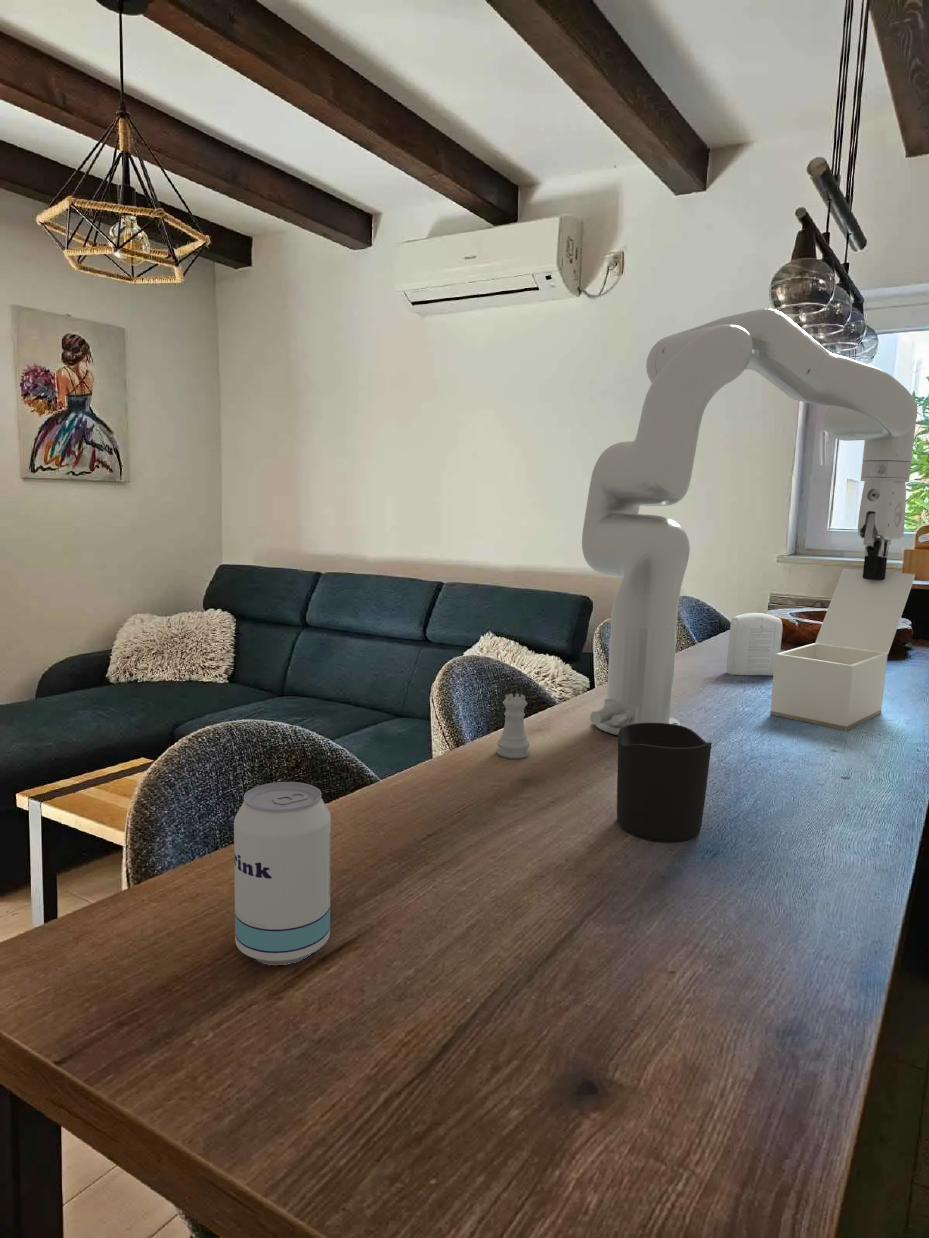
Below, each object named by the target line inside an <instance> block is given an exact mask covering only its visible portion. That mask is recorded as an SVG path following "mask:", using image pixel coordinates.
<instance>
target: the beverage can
mask: <svg viewBox="0 0 929 1238" xmlns="http://www.w3.org/2000/svg"><path fill="white" fill-rule="evenodd" d="M331 819H332V818H331V812H330V811H329V809H328V807H327V805H326V804H325V802H324V800H323V798H322V791H321V790H320V788H318V787H316V786H314V785H313V784H308V783H304V782H297V781H296V782H295V781H281V782H279V781H278V782H270V783H265V784H261V785H258V786H255V787H252V788H251V789H249V790H247V791H246V792H245V793H244V795H243V802H242V804H241V806H240V807H239V809H238V811H237V813H236V815H235V816H234V821H233V845H234V847H233V850H234V851H233V852H234V853H233V854H234V855H233V857H234V860H233V862H234V864H233V865H234V933H235V934H234V936H235V937H234V940H235V945H236V947H237V949H238V950H239V952H241V953H242V954H244V955H245V956H247V957H249V958H251V959H253V958H254V959H256V960H258V961H260V962H264V963H267V964H273V965H275V964H288V963H294V962H298V961H300V960H303V959H305V958H307V957H308V956H309V957H311V956H312V955H313V954H314V953H315V952H317V951H319V950H320V949H321V948H322V947H324V946H325V944H326V943H327V942H328V941H329V939H330V937H331V936H330V935H331V847H332V845H331V842H332V841H331V838H332V837H331V835H332V834H331V827H332V826H331V823H332V820H331ZM312 953H313V954H312ZM311 954H312V955H311ZM310 955H311V956H310ZM309 957H308V958H309ZM308 958H307V959H308ZM254 959H253V960H254ZM256 960H255V961H256ZM305 960H306V959H305ZM303 961H304V960H303ZM298 963H299V962H298Z"/></svg>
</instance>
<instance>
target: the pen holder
mask: <svg viewBox="0 0 929 1238" xmlns="http://www.w3.org/2000/svg"><path fill="white" fill-rule="evenodd" d="M617 736H618V737H617V771H616V774H617V775H616V776H617V777H616V779H617V782H616V784H617V785H616V819H617V820H616V821H617V823H618V824H619V826H620V827H621V829H622V830H623V831H625V832H626V833H629V834H630V835H632V836H634V835H635V836H634V837H638V838H641V839H643V838H645V839H644V840H648V839H649V840H648V841H653V840H656V841H655V842H660V841H662V843H679V842H685V841H689V840H692V839H693V838H695V837H696V836H697V835H698V834H699V833H700V831H701V830H702V824H703V815H704V810H705V809H704V808H705V802H706V794H707V786H708V777H709V768H710V759H711V752H712V744H713V743H712V742H710V741H709V742H708V741H707V742H706V741H705V740H704V739H703V738H702V737H701V736H700V735H699V734H697V733H696V732H695V731H693V729H691V728H688V727H686V726H683V725H681V726H680V725H675V724H667V723H635V724H629V725H626V726H623V727H622V728H621V729H620V730H619V734H618V735H617ZM691 838H692V839H691ZM688 839H689V840H688Z"/></svg>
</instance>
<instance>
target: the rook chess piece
mask: <svg viewBox="0 0 929 1238" xmlns="http://www.w3.org/2000/svg"><path fill="white" fill-rule="evenodd" d="M513 694H514V693H508V694H505V699H504V700H503V701H502V704H503V705H504V707H505V712H504V713H503V714H504V716H505V720H504V725H503V730H502V733H501V735H500V738H499V739H498V740H497V749H496V750H495V751H496V753H497V754H498V755H499V757H501V758H504V759H510V760H521V759H525V758H527V757H528V755H529V754H530V753H531V751H530V749H529V747H530V741H529V740H528V739H527V736H526V734H525V733H526V732H525V723H524V720H525V719H524V717H525V716H526V713H525V707H526V706H527V705H528V702H527V701H526V695H524V694H519V693H515V696H514V695H513Z"/></svg>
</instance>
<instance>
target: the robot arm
mask: <svg viewBox="0 0 929 1238" xmlns="http://www.w3.org/2000/svg"><path fill="white" fill-rule="evenodd" d="M645 369H646V374H647V377H648V379H649V381H650V383H651V385H650V386H649V388H648V391H647V393H646V394H645V398H644V402H643V404H642V409H641V414H640V417H639V418H640V419H639V423H638V428H637V433H636V436H635V439H634V440H632V441H631V440H630V441H629V440H628V441H620V442H617V443H614V444H611V445H610V446H608V447H607V448H606V449H604V451H603V452H602V453H601V454H600V455H599V457H598V458H597V461H596V462H595V465H594V467H593V470H592V472H591V477H590V482H589V489H588V493H587V494H588V495H587V501H586V507H585V514H584V519H583V520H584V521H583V527H582V534H581V536H582V537H581V549H582V554H583V557H584V560H585V561H586V564H588V566H589V567H590V568H591V569H592V570H593V571H595V572H597V573H600V574H602V575H607V576H611V577H618V578H622V579H621V580H622V581H621V582H620V585H619V587H618V589H617V592H616V594H615V595H614V599H613V602H612V607H611V613H610V614H611V615H610V633H609V634H610V637H609V651H608V652H609V653H608V668H607V669H608V670H607V688H606V698H605V699H604V703H603V704H604V705H603V708H602V709H598V710H594V711H593V712H591V713H590V716H589V719H590V722H591V723H592V724H593V725H594V726H596V728H597V729H599V730H601V731H603V732H605V733H608V734H611V735H614V736H618V734H619V730H620V729H621V728H622V727H623V726H626V725H629V724H635V723H667V724H675V725H680V726H682V724H681V722H680V721H679V720H678V719H677V718H674V717H672V716H671V715H672V701H673V689H674V688H673V687H674V684H673V683H674V674H675V661H676V660H675V659H676V658H675V657H676V648H677V647H676V645H677V631H678V613H679V606H680V605H679V603H680V595H681V592H682V591H681V590H682V585H683V582H684V581H683V580H684V577H685V573H686V570H687V566H688V562H689V557H690V550H691V549H690V539H689V538H688V535H687V532H686V531H685V529H684V528H683V527H682V526H681V525H680V524H679V523H678V522H677V521H675V520H673V519H672V518H668V517H666V516H661V515H655V514H641V513H640V514H639V510H640V507H641V506H644V507H645V506H647V507H648V506H649V507H667V506H672V505H675V504H678V503H680V502H681V501H682V500H683V499H684V498H685V496H686V495H687V493H688V491H689V487H690V486H691V479H692V476H693V475H692V474H693V469H694V463H695V456H696V451H697V446H698V440H699V434H700V433H699V432H700V427H701V423H702V420H703V419H702V418H703V416H704V412H705V410H706V408H707V406H708V404H709V403H710V402H711V400H712V398H713V397H714V396H715V394H717V393H718V391H720V390H721V389H722V388H724V386H726V385H728V384H729V383H731V382H733V381H735V380H737V379H738V378H739V377H740V375H742V374H743V372H744V371H746V370H750V371H751V370H752V371H754V372H757V373H758V374H759V375H760V376H761V377H763V378H764V379H766V380H767V381H768V382H769V383H771V384H772V385H774V387H776V388H778V390H781V392H782V393H784V394H786V396H787V397H789V398H790V399H793V400H795V401H797V402H802V403H807V404H811V405H817V406H826V408H825V409H824V411H823V415H822V416H823V417H822V424H823V427H824V429H825V431H826V432H827V433H828V434H827V435H829V436H830V437H832V438H834V439H836V440H839V441H844V442H845V441H847V442H848V441H864V443H863V444H864V445H863V453H862V463H861V472H860V482H864V483H863V486H862V487H863V488H862V493H861V499H860V506H859V510H858V511H859V513H858V522H857V534H858V536H859V537H860V538H862V539H863V546H864V561H863V569H862V570H863V579H869V580H884V579H885V573H886V572H887V562H888V555H889V549H890V546H891V544H892V540H900V539H902V538H903V536H904V532H905V531H904V530H905V521H906V520H905V519H906V503H907V501H906V499H907V490H906V489H907V487H906V486H907V485H906V483H909V482H910V476H911V469H912V468H911V467H912V458H913V451H914V442H915V433H916V424H917V418H918V406H917V403H916V401H915V399H914V397H913V395H912V394H911V393H910V391H909V390H908V389H907V388H906V387H905V386H904V385H903V384H902V383H901V382H899V381H898V380H897V379H896V378H894V377H893V376H892V375H891V374H889V373H888V372H886V371H885V370H882V369H880V368H878V367H875V366H872V365H870V364H866V363H864V362H860V361H858V360H854V359H852V358H849V357H846V356H843V355H839V354H836V353H832V352H830V351H829V350H828V349H827V348H825V347H824V346H823V345H822V344H820V342H818V341H817V340H816V339H814V338H813V337H812V336H811V335H810V334H808V332H806V331H805V330H804V329H802V327H800V326H799V325H798V324H797V323H796V322H794V321H793V320H792V319H791V317H788V316H787V315H786V314H784V313H783V312H782V311H779V310H777V309H774V308H759V309H755V310H754V309H753V310H750V311H745V312H742V313H736V314H733V315H728V316H724V317H721V318H718V319H715V320H713V321H710V322H707V323H704V324H702V325H698V326H695V327H693V328H688V329H686V330H683V331H680V332H677V333H674V334H670V335H667V336H665V337H662V338H661V339H659V340H658V341H657V342H656V343H655V344H654V345H653V346H652V348H651V349H650V351H649V353H648V355H647V359H646V368H645Z"/></svg>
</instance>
